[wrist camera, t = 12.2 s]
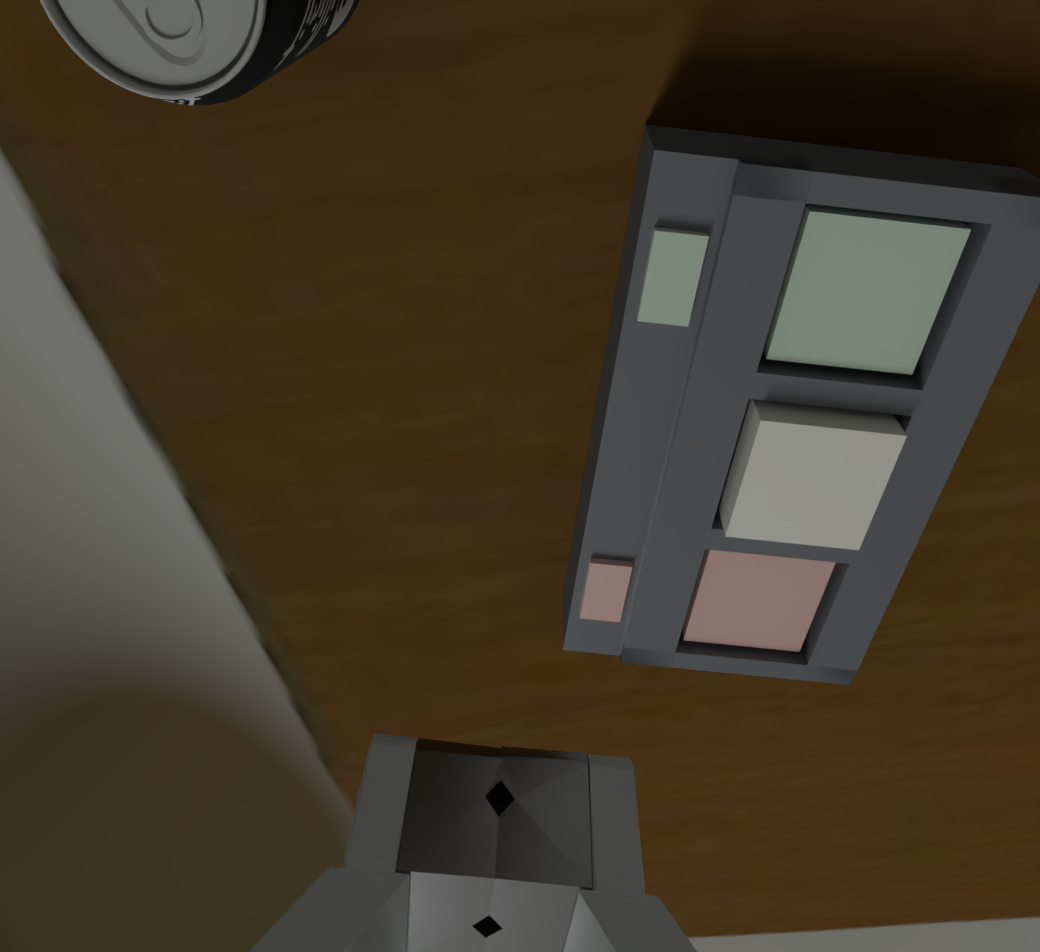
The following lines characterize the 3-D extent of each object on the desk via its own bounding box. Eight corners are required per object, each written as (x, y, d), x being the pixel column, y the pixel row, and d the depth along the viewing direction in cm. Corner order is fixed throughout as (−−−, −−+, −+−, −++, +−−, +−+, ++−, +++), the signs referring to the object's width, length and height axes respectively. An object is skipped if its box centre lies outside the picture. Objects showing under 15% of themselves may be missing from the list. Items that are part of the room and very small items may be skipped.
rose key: (704, 523, 42) (710, 549, 40) (824, 536, 42) (835, 562, 40) (678, 612, 45) (683, 640, 43) (790, 624, 45) (799, 651, 44)
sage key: (797, 195, 33) (809, 211, 31) (950, 212, 33) (971, 229, 31) (756, 337, 36) (766, 359, 34) (895, 352, 36) (912, 374, 35)
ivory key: (751, 396, 36) (760, 420, 34) (891, 411, 36) (907, 435, 34) (718, 509, 39) (725, 536, 38) (846, 522, 40) (859, 550, 38)
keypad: (644, 124, 33) (655, 153, 30) (1020, 167, 34) (1077, 201, 30) (562, 596, 47) (562, 656, 44) (827, 623, 48) (850, 684, 44)
